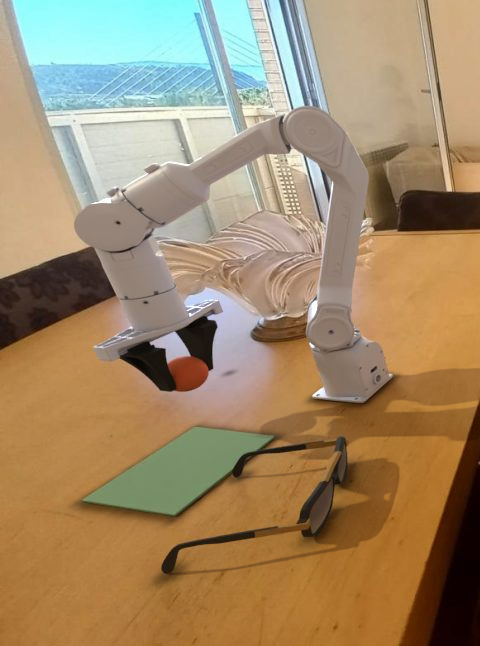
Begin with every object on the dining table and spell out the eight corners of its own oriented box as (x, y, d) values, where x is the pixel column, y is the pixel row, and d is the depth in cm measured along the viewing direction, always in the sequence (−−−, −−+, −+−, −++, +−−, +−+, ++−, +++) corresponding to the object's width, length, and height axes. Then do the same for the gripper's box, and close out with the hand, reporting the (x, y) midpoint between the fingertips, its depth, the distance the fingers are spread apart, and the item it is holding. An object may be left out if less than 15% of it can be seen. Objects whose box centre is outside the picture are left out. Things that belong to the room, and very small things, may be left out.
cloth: (275, 437, 68) (274, 435, 68) (175, 516, 55) (174, 514, 55) (195, 428, 71) (194, 426, 70) (82, 501, 58) (81, 500, 58)
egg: (222, 380, 70) (210, 351, 68) (188, 400, 65) (174, 369, 63) (195, 377, 71) (182, 348, 69) (159, 397, 66) (144, 366, 64)
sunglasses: (235, 476, 61) (221, 446, 59) (362, 456, 64) (352, 427, 62) (164, 575, 48) (143, 540, 46) (325, 545, 51) (312, 511, 49)
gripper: (180, 271, 69) (214, 351, 75) (54, 312, 56) (106, 407, 62) (219, 273, 68) (251, 354, 73) (100, 316, 55) (149, 412, 60)
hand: (188, 379), depth 67 cm, fingers closed on egg, 5 cm apart
